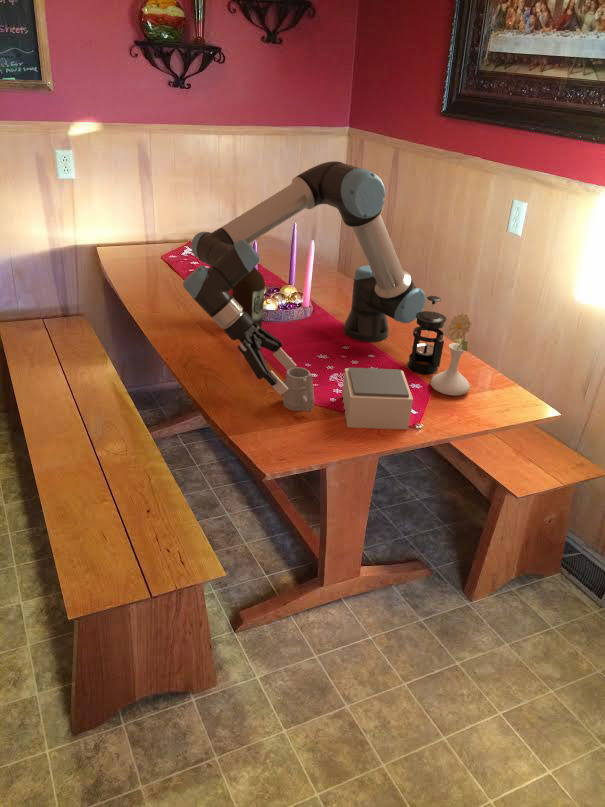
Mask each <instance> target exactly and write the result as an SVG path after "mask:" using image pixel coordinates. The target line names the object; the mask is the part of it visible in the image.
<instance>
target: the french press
mask: <svg viewBox="0 0 605 807" xmlns="http://www.w3.org/2000/svg"><path fill="white" fill-rule="evenodd" d="M426 300H428V301H431V305H432V307H431V311H428V310H426V311H424V310H422V312H419V313H417V314H416V324H417V327H415V328H413V333H412V336H413V344H412V346H411V353H410V354H409V356H408V362H407V369H408V370H409V371H411V372H413V373H416V374H419V375H424V376H425V375H434V374H436V373H437V372H438V371H439V368H440V365H441V361H442V360H441V359H442V356H443V355H442V354H443V349H444V343H445V341H444V332H443V331H442V330H441V329H442V328H443V327H444V326H445V323H446V321H447V317H446V316H445V315H444V314H442V313H439V312H436V311H434V307H435V304H436V302H441V301H442V298H441V297H440V296H436V295H429V296H427V297H426ZM422 331H427V334H426V335H427V336H426V337H425V336H422ZM430 332H432V333H433V332H434V333H436V337H429V334H430ZM421 341H422V342H421ZM424 342H425V343H424ZM431 343H434V344H431Z"/></svg>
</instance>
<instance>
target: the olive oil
mask: <svg viewBox="0 0 605 807" xmlns="http://www.w3.org/2000/svg"><path fill="white" fill-rule="evenodd" d="M265 288H266V283H265V278H264V276H263V274H262V273H261V272H260V271H259V269H257V268H256V266H255V267H254V268H253V269H252V270H251V272H249V273H248V274H247V275H246V276H245V277H244V278H243V279H242V280H241V281H239V282H238V283H237V284H236V285H235V286H234V287H233V288H232V289H231V290H232V297H233V298H234V299H235V300H236V301H237V302H238V303H239V304H240V305H241V306H242V308H243V312H244V311H245V312H247V313H248V314H249V316H250V317H251V318H252V319H253V320H254V322H256V323H257V324H258V325H259V326H260V327H262V326H263V316H264V301H265V291H266V289H265ZM262 328H263V327H262Z"/></svg>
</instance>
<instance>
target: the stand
mask: <svg viewBox="0 0 605 807" xmlns="http://www.w3.org/2000/svg"><path fill="white" fill-rule="evenodd" d="M343 374H344V375H343V384H342V385H343V387H342V392H341V395H342V396H341V398H342V397H343V400H342V404H343V403H344V406H343V410H344V409H345V412H344V417H345V421H346V422H345V423H346V427H347V428H353V429H354V428H356V429H357V428H358V429H359V428H360V429H385V430H409V429H410V428H409V427H410V420H411V414H412V409H413V403H414V398H413V395H412V392H411V390H410V387H409V384H408V381H407V378H406V375H405V372H404V371H403V370H401V369H399V368H398V369H397V368H394V369H393V368H369V367H350V366H349V367H347V368H344V372H343Z"/></svg>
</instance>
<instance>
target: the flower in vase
mask: <svg viewBox="0 0 605 807" xmlns="http://www.w3.org/2000/svg"><path fill="white" fill-rule="evenodd" d="M471 320H472V319H471V317H470V315H469V313H464V312H461V313H457V315H454V316H453V317H452V319H451V320H450V322H449V324H448V326H447V327H448V329H447V335H448V336H449V339H450V340H455V341H456V342H452V343H449V344H448V348H449V350H450V356H451V357H450V363H449V366H448V368H447V369H446V370H444V371H441V372H439V373H437V374H435V375H433V377H431V379H430V380H429V381H430V385H431V387H432V388H433V390H435V391H436V392H439V393H440V394H444V395H449V396H462V395H465V394H467V393H468V392H469V391H470V389H471V385H470V382H469V381H468V380H467V378H466V377H465V376H464V375H463V374H461V373H460V372H459V362H460V359H461V357H462V355H463V353H464V352H468V344H469V343H468V341H467V340H466V339H465V338H466V334H467V333H469V332H470V329H471V326H472V321H471Z"/></svg>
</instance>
